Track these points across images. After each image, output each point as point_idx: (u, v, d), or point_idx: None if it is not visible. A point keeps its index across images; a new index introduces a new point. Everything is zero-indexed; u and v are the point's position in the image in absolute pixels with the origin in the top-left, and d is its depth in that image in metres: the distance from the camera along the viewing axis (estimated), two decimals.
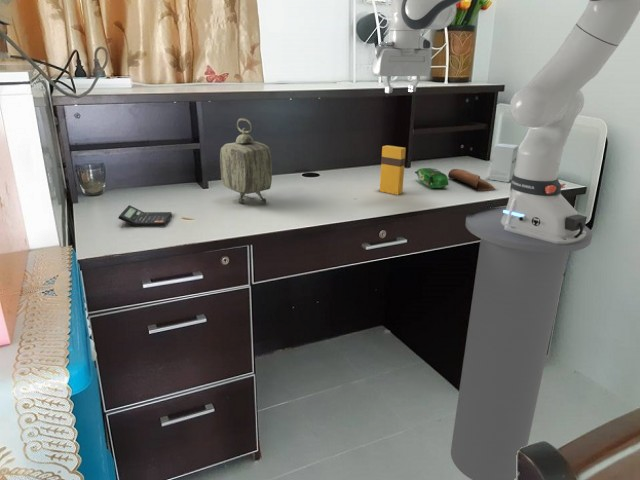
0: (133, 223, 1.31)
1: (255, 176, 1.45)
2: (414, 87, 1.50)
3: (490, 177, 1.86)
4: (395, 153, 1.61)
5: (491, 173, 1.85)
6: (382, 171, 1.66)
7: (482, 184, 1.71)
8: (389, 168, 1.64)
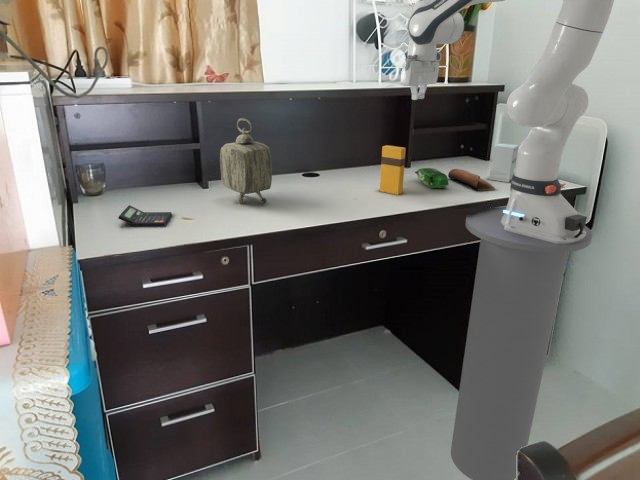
0: (133, 223, 1.31)
1: (255, 176, 1.45)
2: (423, 94, 1.68)
3: (490, 177, 1.86)
4: (395, 153, 1.61)
5: (491, 173, 1.85)
6: (382, 171, 1.66)
7: (482, 184, 1.71)
8: (389, 168, 1.64)
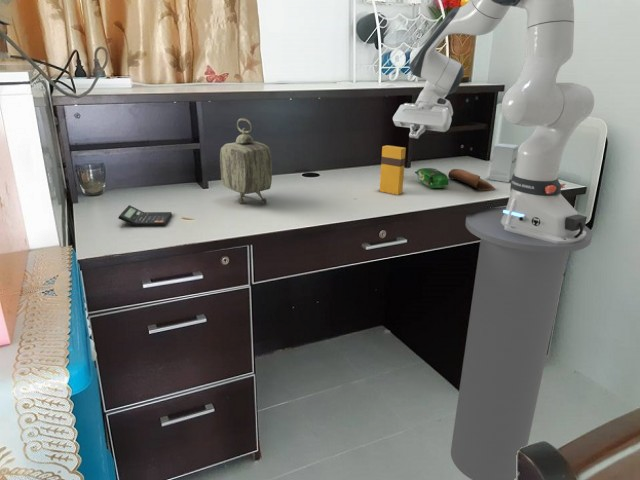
0: (133, 223, 1.31)
1: (255, 176, 1.45)
2: (416, 132, 1.71)
3: (490, 177, 1.86)
4: (395, 153, 1.61)
5: (491, 173, 1.85)
6: (382, 171, 1.66)
7: (482, 184, 1.71)
8: (389, 168, 1.64)
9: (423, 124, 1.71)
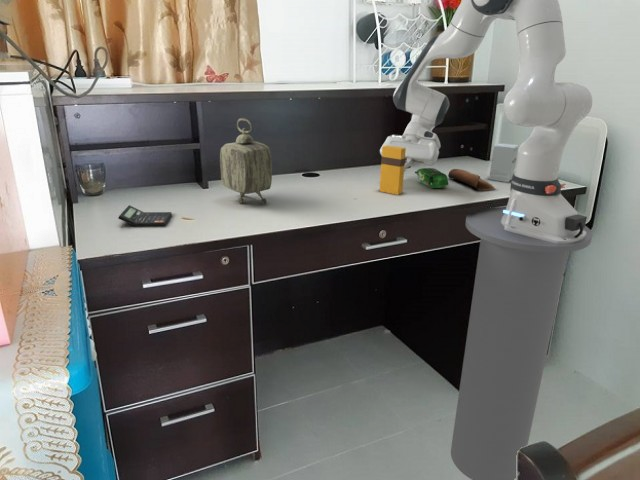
0: (133, 223, 1.31)
1: (255, 176, 1.45)
2: None
3: (490, 177, 1.86)
4: (395, 153, 1.61)
5: (491, 173, 1.85)
6: (382, 171, 1.66)
7: (482, 184, 1.71)
8: (389, 168, 1.64)
9: (410, 157, 1.69)
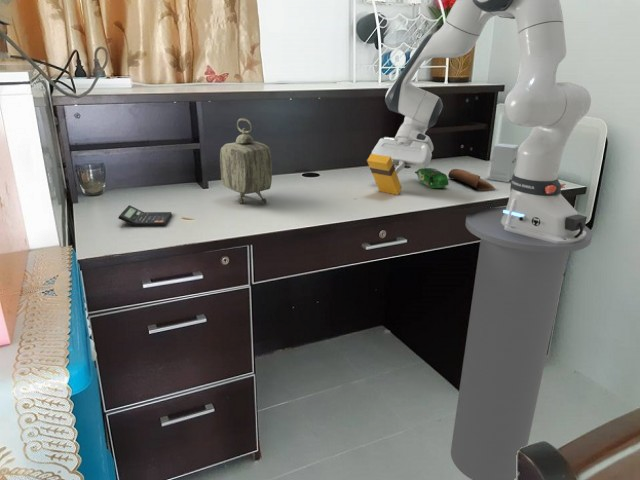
0: (133, 223, 1.31)
1: (255, 176, 1.45)
2: None
3: (490, 177, 1.86)
4: (382, 166, 1.56)
5: (491, 173, 1.85)
6: (375, 178, 1.63)
7: (482, 184, 1.71)
8: (381, 176, 1.61)
9: (402, 160, 1.64)
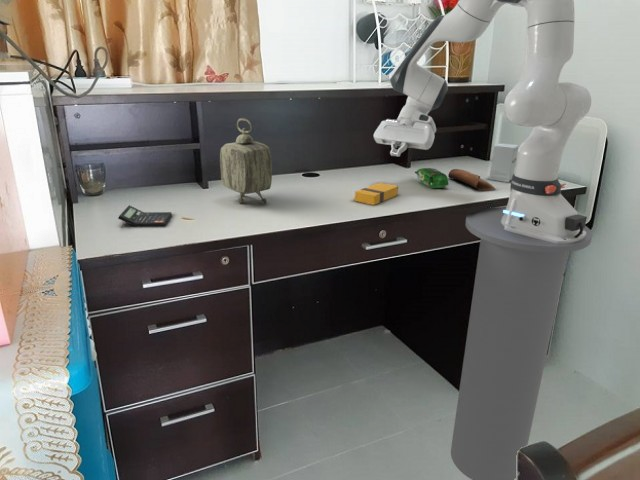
0: (133, 223, 1.31)
1: (255, 176, 1.45)
2: (397, 150, 1.63)
3: (490, 177, 1.86)
4: None
5: (491, 173, 1.85)
6: None
7: (482, 184, 1.71)
8: None
9: (404, 141, 1.63)
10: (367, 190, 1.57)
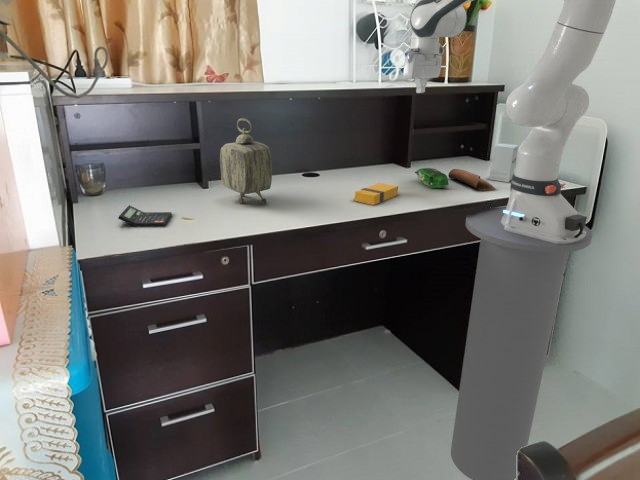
0: (133, 223, 1.31)
1: (255, 176, 1.45)
2: (424, 88, 1.67)
3: (490, 177, 1.86)
4: None
5: (491, 173, 1.85)
6: None
7: (482, 184, 1.71)
8: None
9: None
10: (367, 190, 1.57)
